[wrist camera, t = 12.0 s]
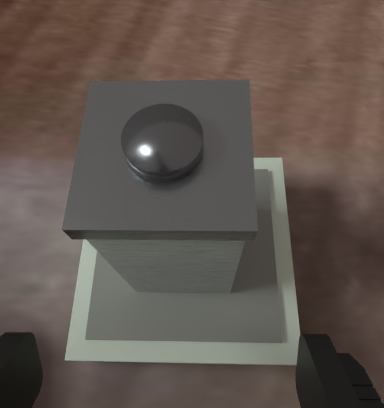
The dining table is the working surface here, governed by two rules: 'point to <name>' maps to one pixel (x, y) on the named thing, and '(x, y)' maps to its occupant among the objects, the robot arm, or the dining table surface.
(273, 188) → the stand
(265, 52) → the dining table surface
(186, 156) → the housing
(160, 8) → the dining table surface
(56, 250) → the dining table surface
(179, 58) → the dining table surface
